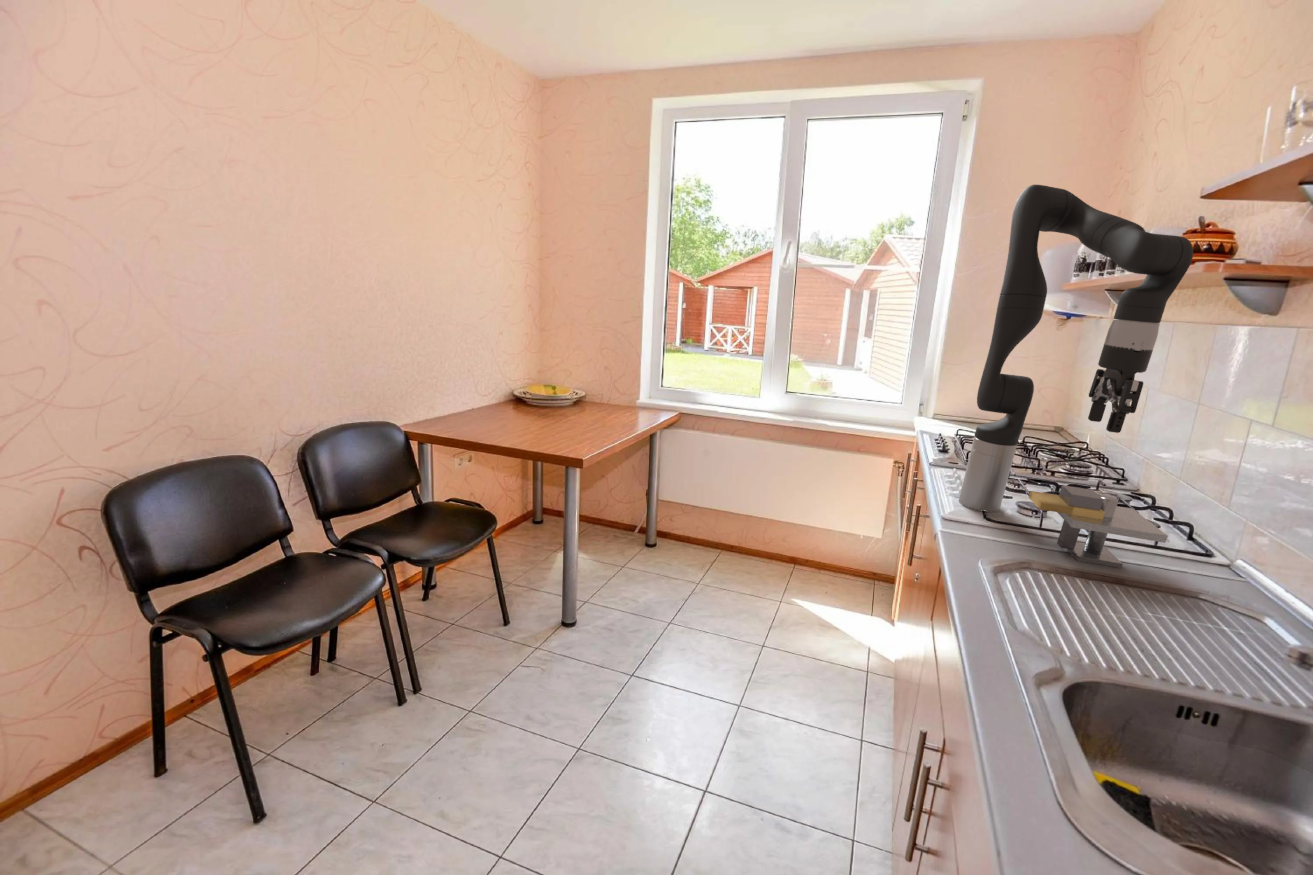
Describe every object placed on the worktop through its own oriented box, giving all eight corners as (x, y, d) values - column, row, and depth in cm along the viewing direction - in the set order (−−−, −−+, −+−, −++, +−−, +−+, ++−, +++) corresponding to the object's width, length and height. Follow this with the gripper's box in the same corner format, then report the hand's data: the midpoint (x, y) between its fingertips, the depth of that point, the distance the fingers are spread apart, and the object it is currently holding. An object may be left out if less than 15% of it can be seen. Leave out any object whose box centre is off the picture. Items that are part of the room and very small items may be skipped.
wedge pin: (1046, 538, 127) (1062, 485, 124) (1075, 543, 126) (1092, 489, 122) (1054, 549, 122) (1071, 494, 119) (1085, 555, 121) (1103, 499, 117)
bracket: (1088, 506, 124) (1090, 500, 124) (1102, 519, 117) (1104, 512, 117) (1028, 497, 127) (1030, 490, 126) (1039, 509, 120) (1041, 502, 120)
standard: (1119, 548, 128) (1137, 493, 124) (1151, 579, 115) (1174, 519, 111) (1037, 534, 131) (1053, 480, 128) (1060, 563, 118) (1078, 504, 115)
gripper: (1090, 338, 119) (1068, 415, 124) (1123, 347, 106) (1096, 432, 111) (1133, 342, 117) (1108, 420, 122) (1172, 352, 104) (1142, 438, 109)
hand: (1103, 426), depth 116 cm, fingers open, 8 cm apart
